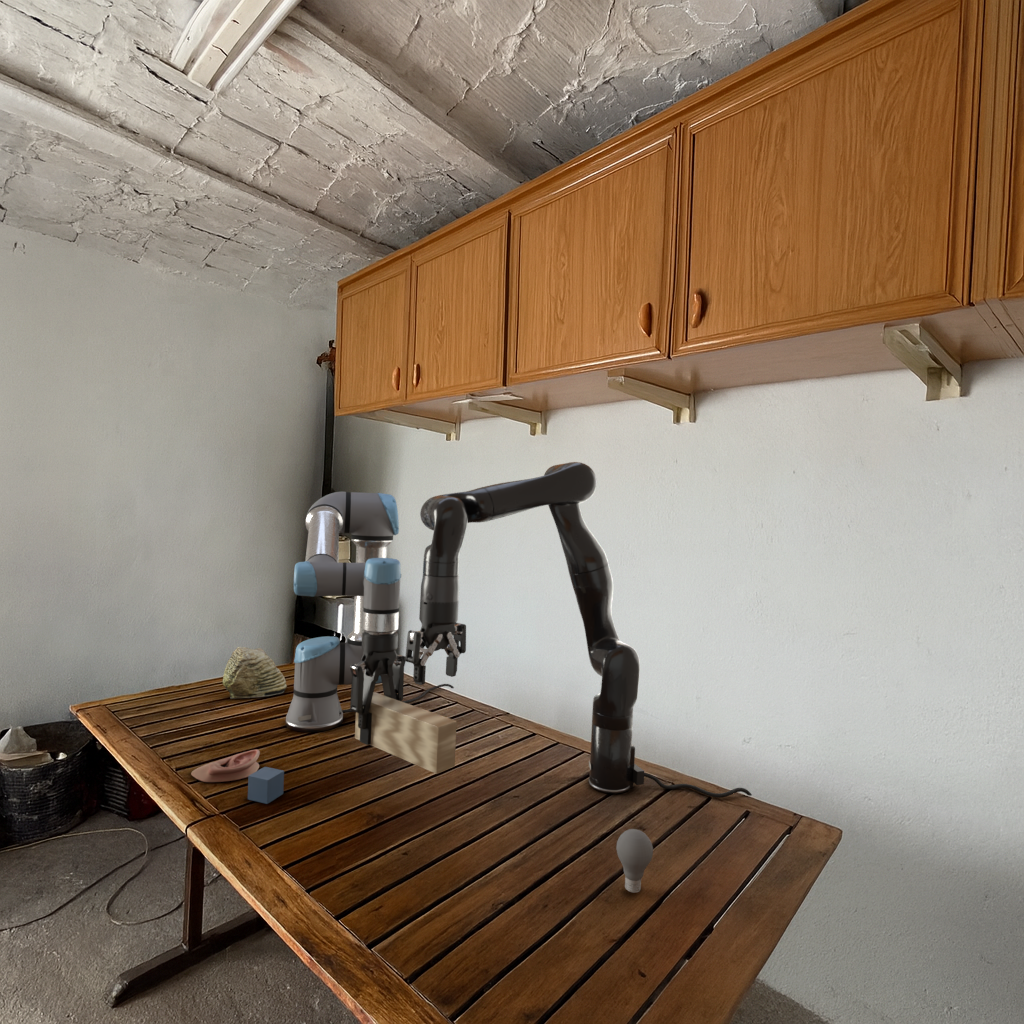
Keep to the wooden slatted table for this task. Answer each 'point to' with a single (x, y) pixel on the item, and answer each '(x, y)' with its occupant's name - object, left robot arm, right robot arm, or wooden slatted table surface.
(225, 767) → the anatomical model
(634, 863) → the light bulb
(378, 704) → the ash bar
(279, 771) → the slate blue block
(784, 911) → the wooden slatted table surface
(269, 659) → the fossil
